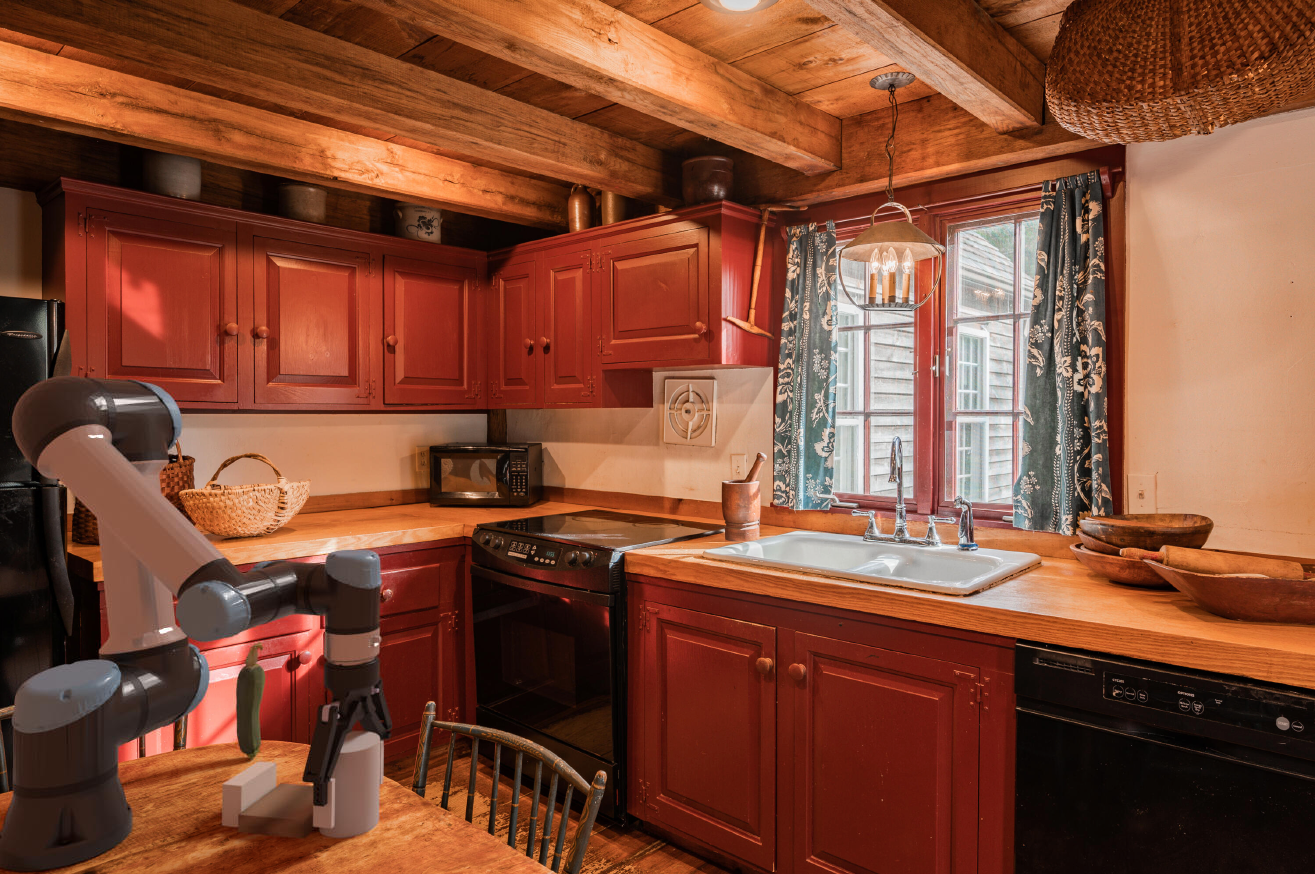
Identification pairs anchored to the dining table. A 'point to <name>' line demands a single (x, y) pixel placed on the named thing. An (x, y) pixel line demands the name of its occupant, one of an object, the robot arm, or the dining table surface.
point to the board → (280, 812)
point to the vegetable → (249, 703)
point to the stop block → (246, 790)
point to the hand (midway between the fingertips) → (350, 803)
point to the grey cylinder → (356, 786)
